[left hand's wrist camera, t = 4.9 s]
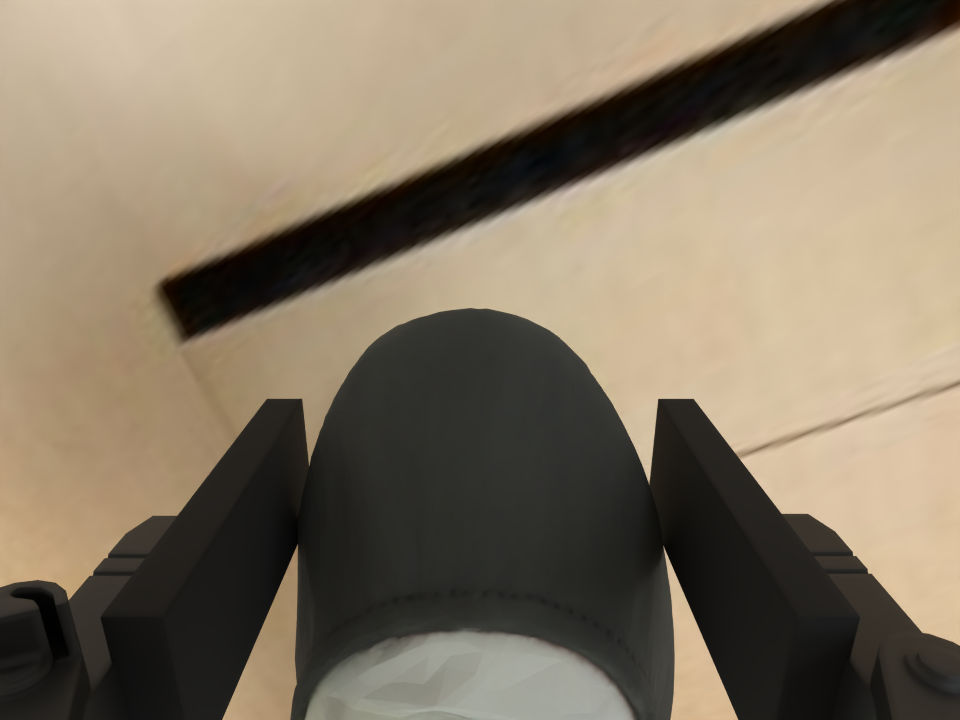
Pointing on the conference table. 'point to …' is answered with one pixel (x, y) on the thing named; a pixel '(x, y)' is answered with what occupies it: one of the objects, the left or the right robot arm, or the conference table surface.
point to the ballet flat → (479, 538)
